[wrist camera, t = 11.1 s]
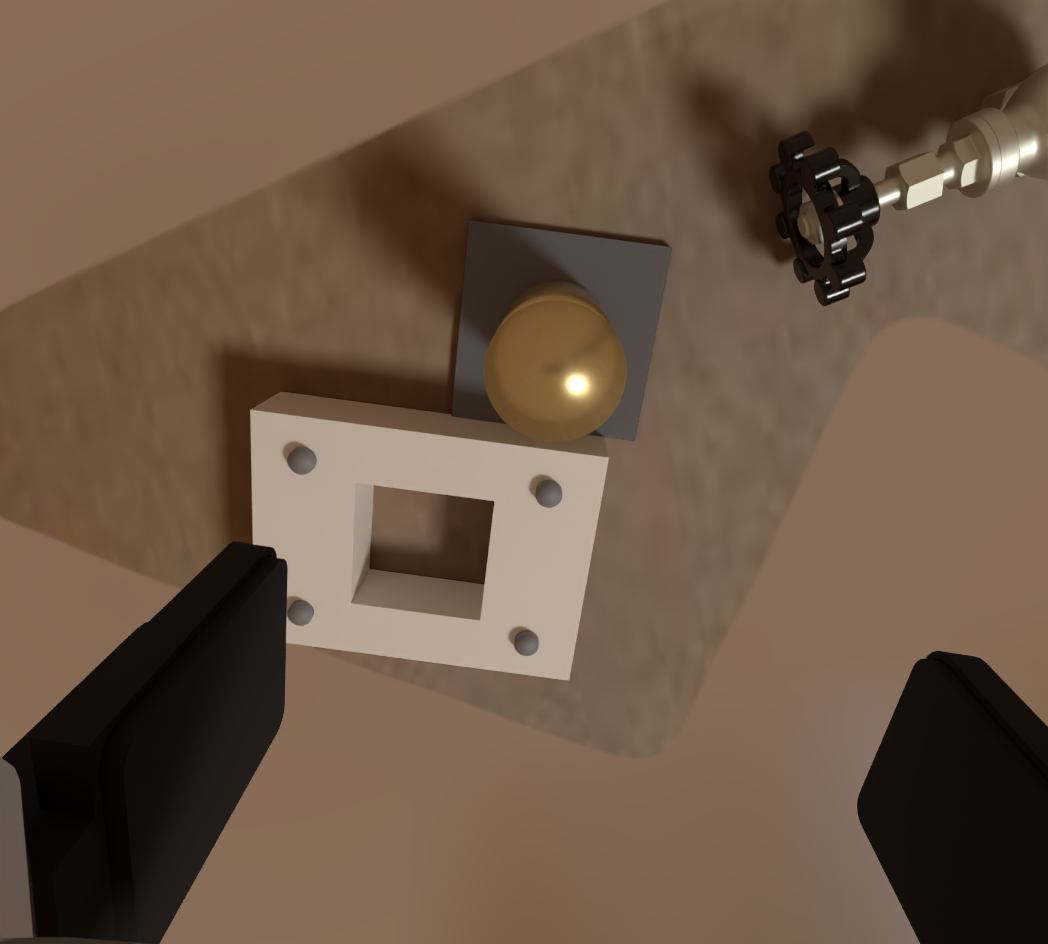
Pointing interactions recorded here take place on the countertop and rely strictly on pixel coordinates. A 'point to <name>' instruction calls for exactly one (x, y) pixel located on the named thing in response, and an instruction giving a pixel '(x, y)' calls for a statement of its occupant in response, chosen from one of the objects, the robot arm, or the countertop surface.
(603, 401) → the brass domed cylinder
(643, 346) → the mat
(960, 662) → the robot arm
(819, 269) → the valve
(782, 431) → the countertop surface
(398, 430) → the plate
